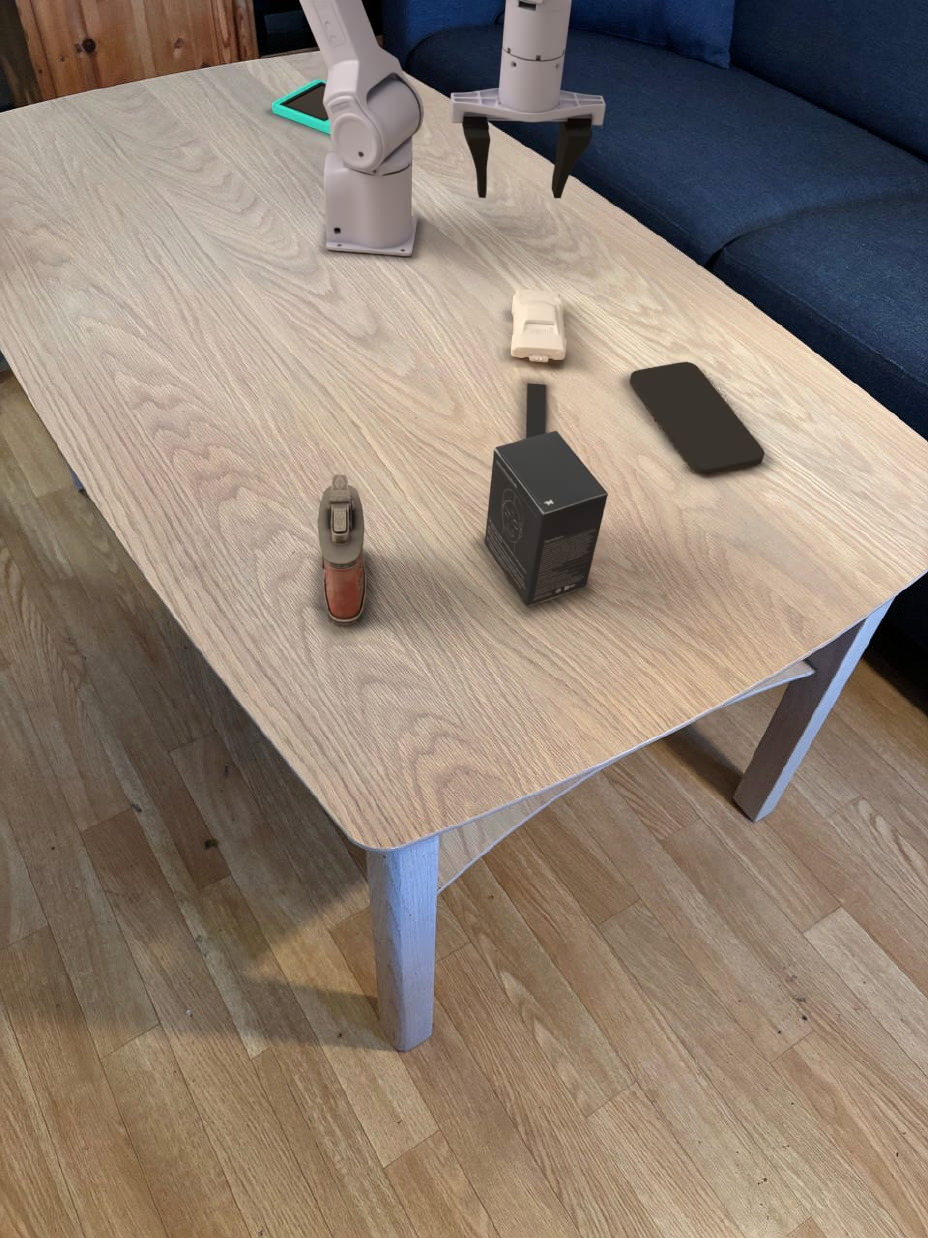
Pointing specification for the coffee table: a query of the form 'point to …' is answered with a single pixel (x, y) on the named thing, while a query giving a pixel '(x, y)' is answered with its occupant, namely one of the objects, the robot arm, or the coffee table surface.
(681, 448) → the phone
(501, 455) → the box
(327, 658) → the coffee table surface
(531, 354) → the toy car
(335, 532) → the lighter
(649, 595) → the coffee table surface
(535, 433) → the tape line
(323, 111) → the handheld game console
